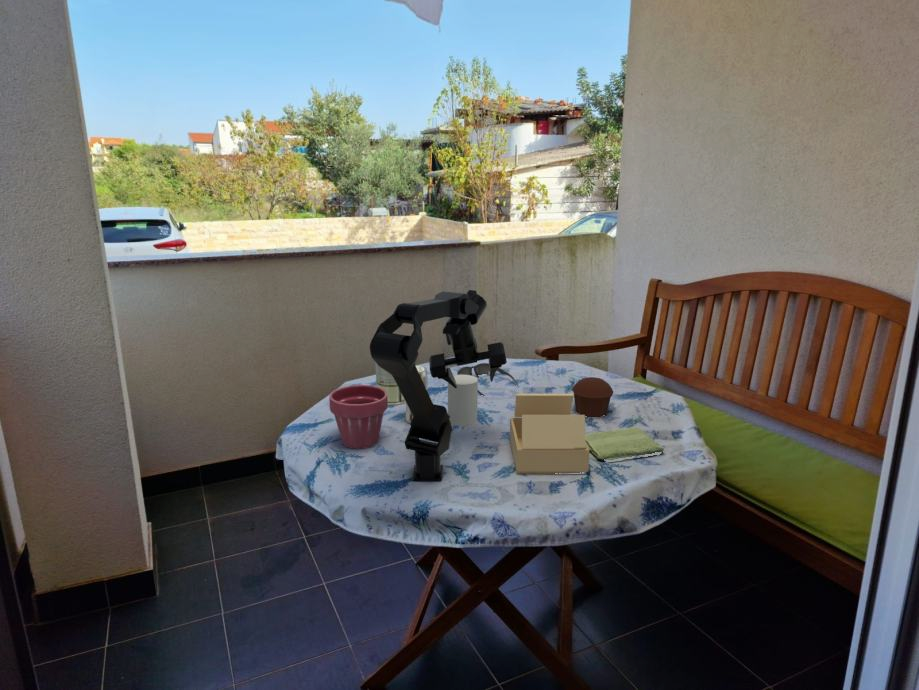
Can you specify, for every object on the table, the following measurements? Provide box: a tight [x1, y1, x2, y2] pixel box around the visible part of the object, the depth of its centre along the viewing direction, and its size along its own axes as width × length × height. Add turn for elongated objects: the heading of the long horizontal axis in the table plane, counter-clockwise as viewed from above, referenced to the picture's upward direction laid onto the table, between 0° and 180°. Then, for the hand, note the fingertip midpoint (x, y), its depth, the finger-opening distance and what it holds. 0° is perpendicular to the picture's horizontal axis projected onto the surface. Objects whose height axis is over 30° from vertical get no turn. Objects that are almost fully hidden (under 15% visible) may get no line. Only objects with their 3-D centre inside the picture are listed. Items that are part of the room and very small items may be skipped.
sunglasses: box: [456, 362, 519, 397], centre depth 181 cm, size 16×17×5 cm
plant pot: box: [329, 384, 389, 450], centre depth 139 cm, size 14×14×13 cm
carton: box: [509, 417, 591, 475], centre depth 132 cm, size 18×16×6 cm
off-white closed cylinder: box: [447, 374, 479, 427], centre depth 152 cm, size 8×8×12 cm
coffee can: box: [374, 361, 405, 406], centre depth 167 cm, size 10×10×14 cm
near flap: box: [521, 414, 586, 448], centre depth 123 cm, size 7×14×1 cm
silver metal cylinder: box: [404, 364, 429, 425], centre depth 151 cm, size 7×7×15 cm
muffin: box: [571, 376, 614, 418], centre depth 158 cm, size 12×11×10 cm
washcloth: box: [585, 426, 665, 460], centre depth 137 cm, size 13×18×3 cm
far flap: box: [513, 393, 574, 418], centre depth 138 cm, size 7×14×1 cm
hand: (473, 383), depth 141 cm, fingers open, 9 cm apart
